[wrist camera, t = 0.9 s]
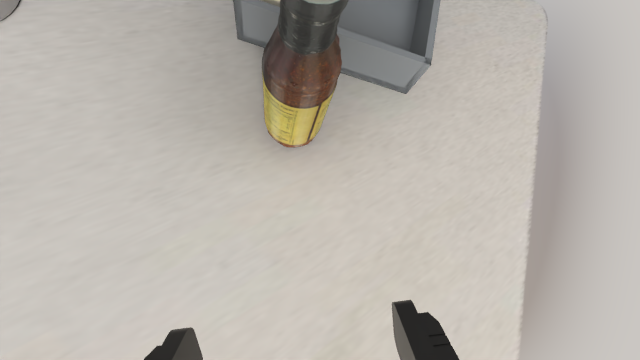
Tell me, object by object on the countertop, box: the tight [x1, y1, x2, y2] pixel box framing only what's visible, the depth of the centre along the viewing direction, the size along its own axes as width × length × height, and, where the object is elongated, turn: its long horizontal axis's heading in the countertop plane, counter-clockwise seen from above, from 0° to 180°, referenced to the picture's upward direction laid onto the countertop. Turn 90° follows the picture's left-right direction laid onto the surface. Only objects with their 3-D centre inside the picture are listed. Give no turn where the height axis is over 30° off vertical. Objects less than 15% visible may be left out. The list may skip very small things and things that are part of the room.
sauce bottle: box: [262, 0, 349, 147], centre depth 25 cm, size 6×6×20 cm
